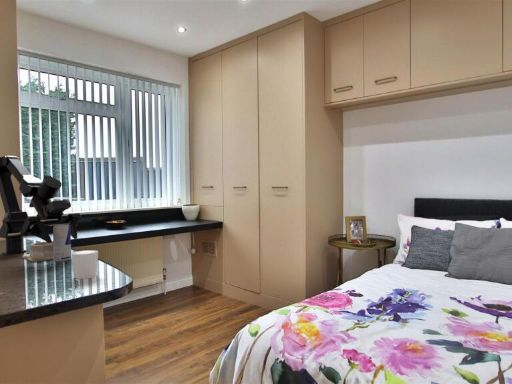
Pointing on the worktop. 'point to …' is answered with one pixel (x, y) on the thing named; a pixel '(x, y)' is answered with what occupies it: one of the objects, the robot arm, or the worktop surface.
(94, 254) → the white cup
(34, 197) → the robot arm
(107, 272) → the worktop surface
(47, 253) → the cup bracket
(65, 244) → the energy drink
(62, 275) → the worktop surface
